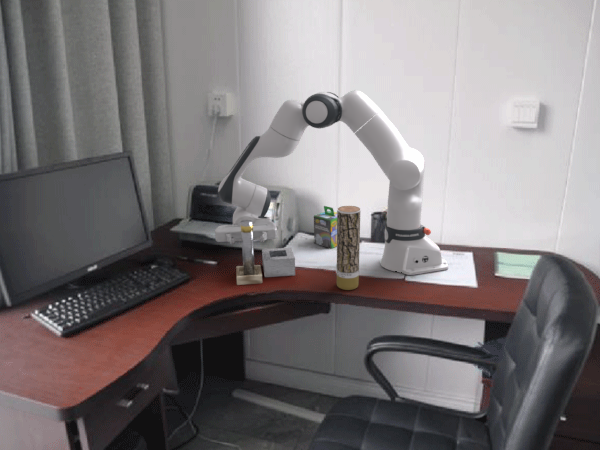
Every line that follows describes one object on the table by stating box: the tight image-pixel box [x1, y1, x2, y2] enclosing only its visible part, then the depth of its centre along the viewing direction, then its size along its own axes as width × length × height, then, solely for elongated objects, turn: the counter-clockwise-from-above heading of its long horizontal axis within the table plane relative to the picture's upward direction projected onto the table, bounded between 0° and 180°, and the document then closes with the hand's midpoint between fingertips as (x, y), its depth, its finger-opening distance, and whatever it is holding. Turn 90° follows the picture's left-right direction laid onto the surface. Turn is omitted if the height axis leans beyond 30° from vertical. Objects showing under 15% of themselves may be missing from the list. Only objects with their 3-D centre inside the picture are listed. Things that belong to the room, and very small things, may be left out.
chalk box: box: [313, 205, 337, 249], centre depth 190 cm, size 9×9×15 cm
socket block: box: [261, 247, 296, 278], centre depth 167 cm, size 10×10×6 cm
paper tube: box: [336, 205, 361, 291], centre depth 152 cm, size 7×7×25 cm
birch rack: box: [235, 264, 263, 286], centre depth 162 cm, size 8×9×3 cm
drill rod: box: [241, 220, 255, 276], centre depth 159 cm, size 4×4×18 cm
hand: (247, 240), depth 158 cm, fingers open, 8 cm apart
